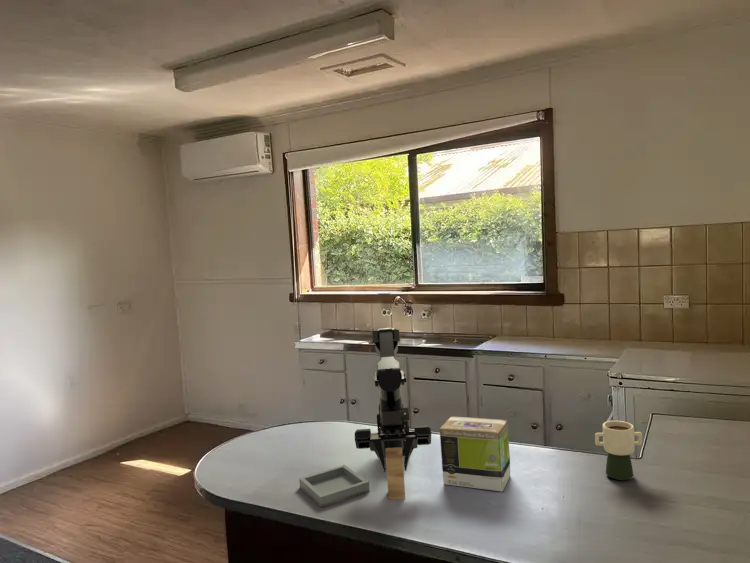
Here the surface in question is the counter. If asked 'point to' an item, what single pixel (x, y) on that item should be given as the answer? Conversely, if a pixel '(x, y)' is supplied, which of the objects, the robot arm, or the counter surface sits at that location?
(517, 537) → the counter surface
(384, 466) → the robot arm
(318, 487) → the tray
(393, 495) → the oak post
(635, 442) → the character mug
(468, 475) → the tea box
